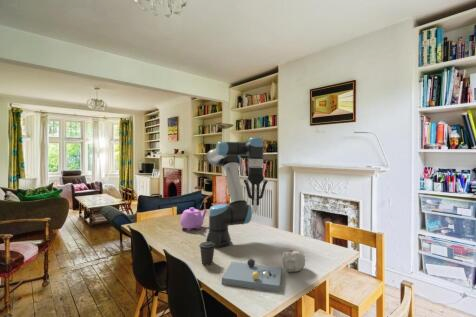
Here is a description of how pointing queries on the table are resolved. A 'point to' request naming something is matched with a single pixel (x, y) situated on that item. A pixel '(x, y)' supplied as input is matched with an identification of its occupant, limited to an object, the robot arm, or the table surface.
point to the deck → (243, 276)
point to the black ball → (250, 262)
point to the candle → (293, 261)
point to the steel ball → (266, 274)
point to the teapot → (192, 218)
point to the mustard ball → (255, 275)
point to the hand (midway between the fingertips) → (255, 211)
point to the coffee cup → (207, 252)
